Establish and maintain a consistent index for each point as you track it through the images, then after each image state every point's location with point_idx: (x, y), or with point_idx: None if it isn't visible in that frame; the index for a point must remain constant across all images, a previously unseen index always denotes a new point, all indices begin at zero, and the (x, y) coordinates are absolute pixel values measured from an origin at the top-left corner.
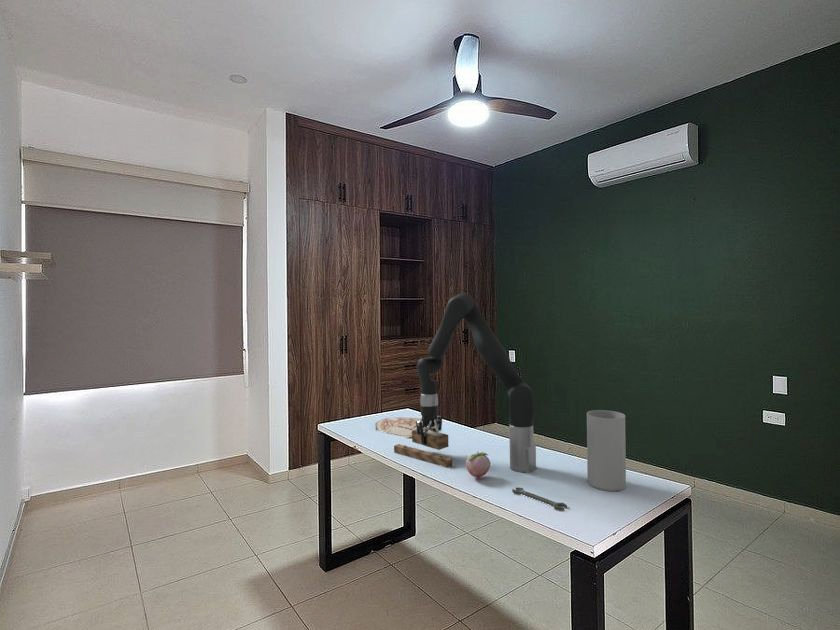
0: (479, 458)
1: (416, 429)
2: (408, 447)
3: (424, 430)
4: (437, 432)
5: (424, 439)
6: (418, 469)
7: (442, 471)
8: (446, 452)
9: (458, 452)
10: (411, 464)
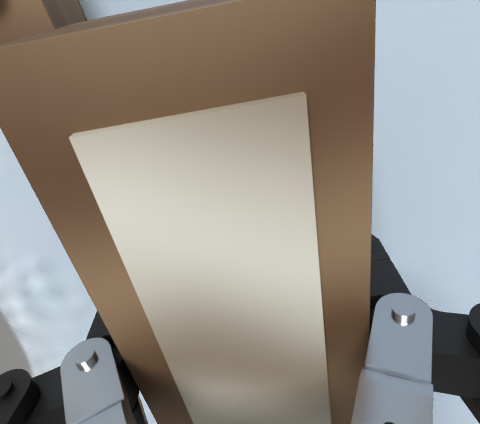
0: None
1: (132, 34)
2: (26, 34)
3: (238, 259)
4: (349, 402)
5: None
6: (27, 337)
7: (145, 404)
8: (399, 200)
9: (462, 249)
10: (6, 257)
